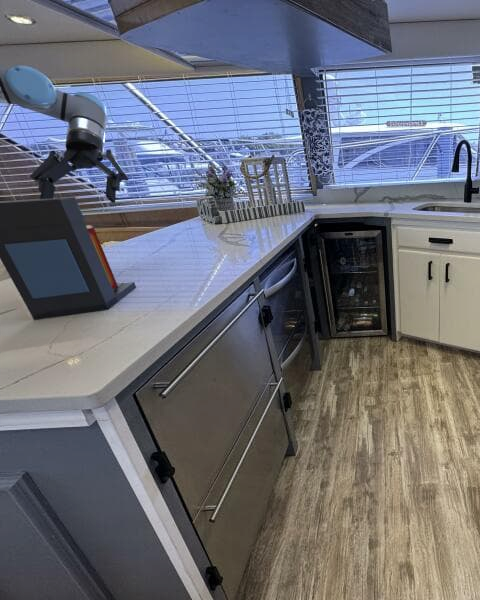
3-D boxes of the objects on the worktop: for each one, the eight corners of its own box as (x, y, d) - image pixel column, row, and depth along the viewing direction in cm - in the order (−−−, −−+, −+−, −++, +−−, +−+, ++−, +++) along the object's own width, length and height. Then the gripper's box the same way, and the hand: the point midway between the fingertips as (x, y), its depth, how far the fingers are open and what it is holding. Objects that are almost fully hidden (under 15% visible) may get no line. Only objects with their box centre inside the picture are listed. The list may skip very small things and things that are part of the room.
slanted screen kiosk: (32, 320, 71) (-32, 204, 61) (74, 294, 86) (28, 197, 76) (107, 310, 75) (58, 199, 65) (136, 287, 90) (99, 193, 80)
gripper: (144, 150, 97) (142, 206, 90) (41, 152, 90) (30, 214, 83) (130, 128, 90) (127, 187, 83) (17, 129, 83) (3, 194, 76)
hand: (78, 201), depth 83 cm, fingers open, 13 cm apart
